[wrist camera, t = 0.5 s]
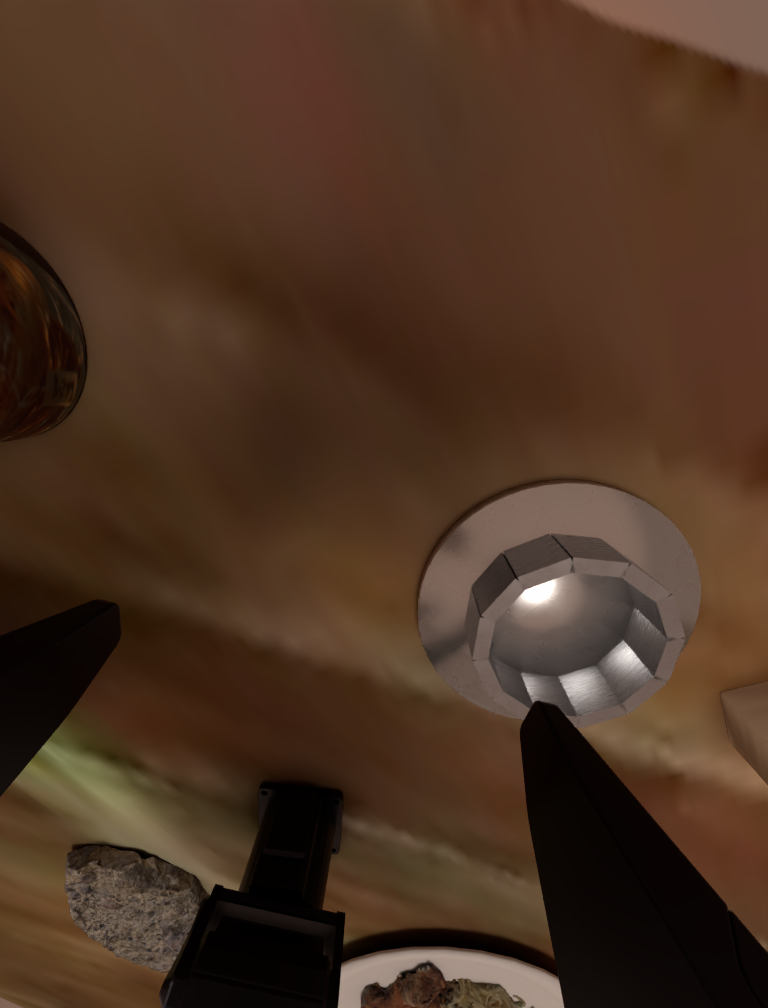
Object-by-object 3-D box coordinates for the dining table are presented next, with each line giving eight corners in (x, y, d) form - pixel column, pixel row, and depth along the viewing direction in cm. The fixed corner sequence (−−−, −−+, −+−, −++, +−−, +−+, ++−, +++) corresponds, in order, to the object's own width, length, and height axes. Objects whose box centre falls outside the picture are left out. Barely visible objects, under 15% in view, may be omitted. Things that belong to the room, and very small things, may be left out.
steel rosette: (643, 721, 26) (683, 780, 22) (405, 694, 26) (405, 748, 22) (729, 493, 21) (801, 519, 17) (434, 466, 21) (439, 485, 17)
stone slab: (136, 811, 33) (109, 854, 30) (259, 927, 36) (245, 975, 33) (41, 854, 35) (7, 896, 32) (164, 957, 39) (143, 1004, 36)
